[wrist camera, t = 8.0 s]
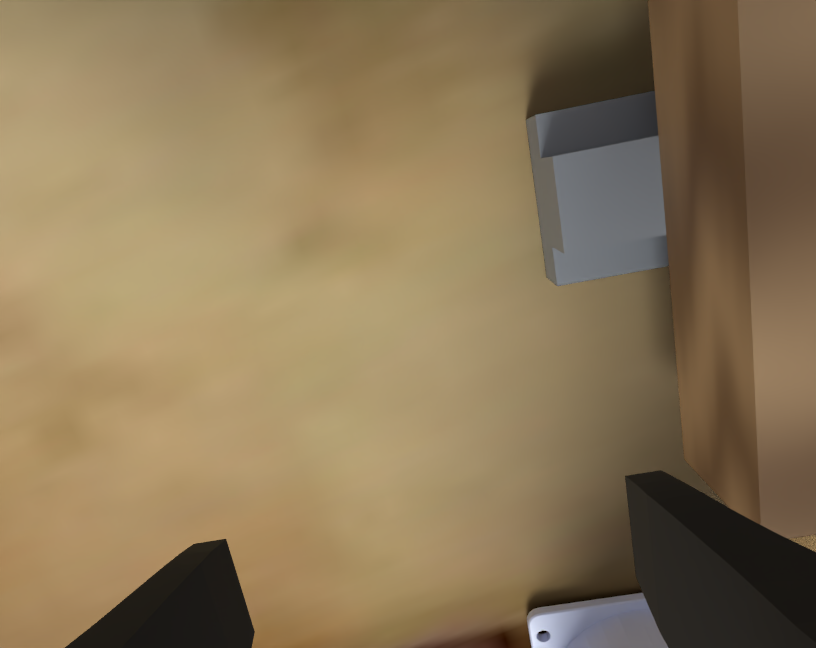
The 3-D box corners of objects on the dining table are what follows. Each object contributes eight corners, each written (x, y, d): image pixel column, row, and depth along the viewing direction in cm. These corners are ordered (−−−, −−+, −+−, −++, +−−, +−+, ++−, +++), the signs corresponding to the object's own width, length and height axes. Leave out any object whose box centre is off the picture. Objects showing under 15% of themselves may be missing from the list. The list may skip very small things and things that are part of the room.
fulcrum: (829, 226, 18) (906, 235, 15) (546, 277, 19) (569, 295, 16) (827, 58, 17) (911, 34, 14) (525, 120, 18) (546, 108, 15)
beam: (804, 440, 17) (919, 519, 13) (684, 459, 17) (761, 542, 13) (790, -198, 13) (949, -358, 9) (635, -161, 13) (724, -302, 9)
